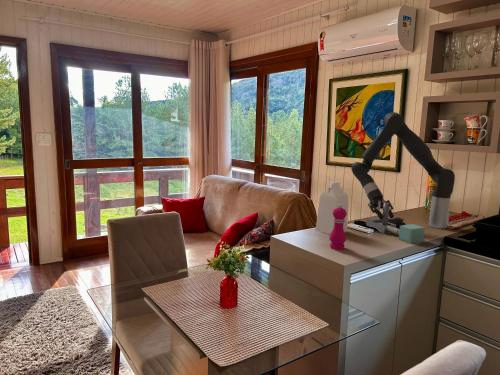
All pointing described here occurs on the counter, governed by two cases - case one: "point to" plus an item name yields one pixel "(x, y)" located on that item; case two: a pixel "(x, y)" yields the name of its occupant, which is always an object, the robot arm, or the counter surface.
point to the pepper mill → (338, 229)
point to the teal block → (411, 233)
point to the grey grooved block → (379, 225)
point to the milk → (331, 208)
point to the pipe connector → (397, 222)
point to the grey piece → (385, 219)
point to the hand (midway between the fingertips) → (387, 218)
